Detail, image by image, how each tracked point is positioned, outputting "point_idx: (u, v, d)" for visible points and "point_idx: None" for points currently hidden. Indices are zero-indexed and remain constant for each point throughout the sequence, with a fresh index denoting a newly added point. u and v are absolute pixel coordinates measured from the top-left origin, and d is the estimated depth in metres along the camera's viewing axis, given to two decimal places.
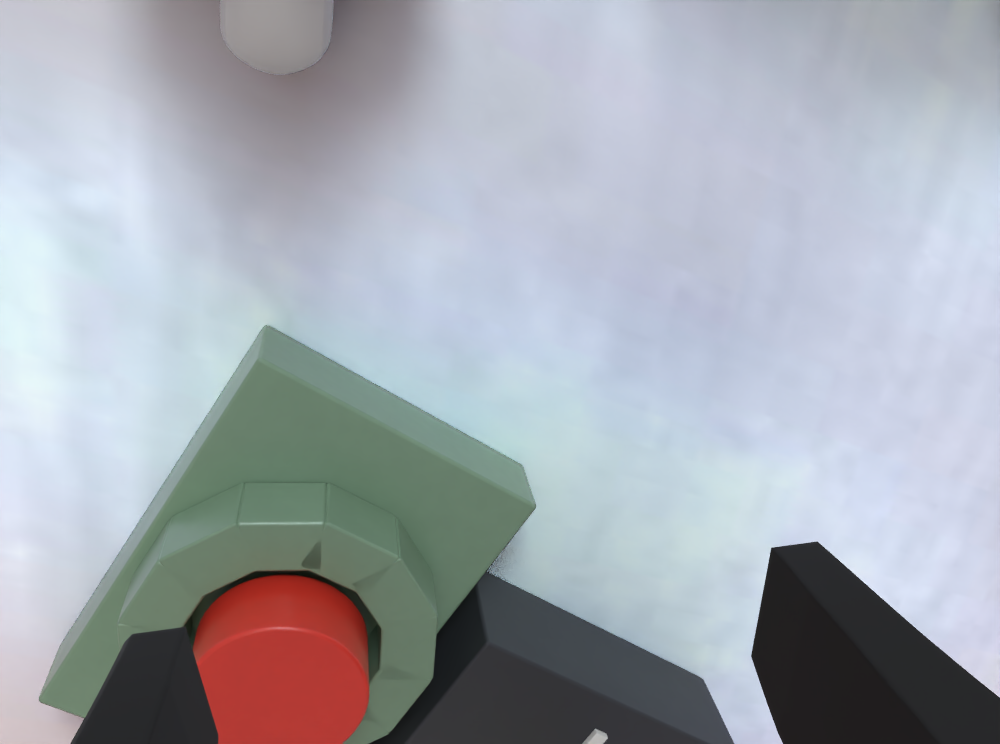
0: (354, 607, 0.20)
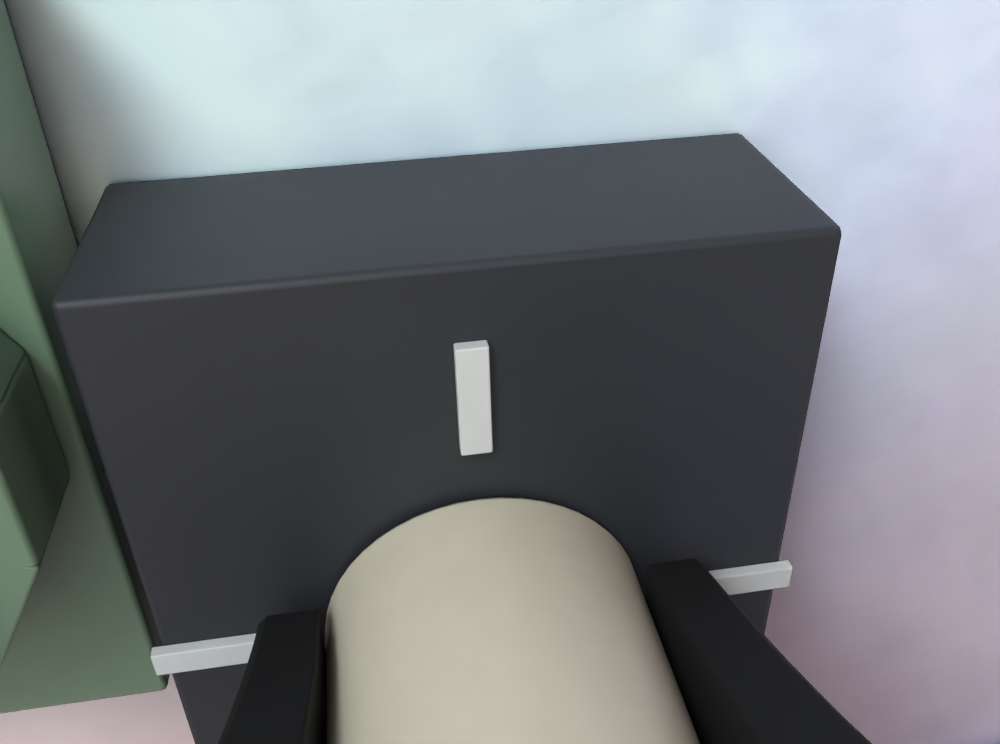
0: None
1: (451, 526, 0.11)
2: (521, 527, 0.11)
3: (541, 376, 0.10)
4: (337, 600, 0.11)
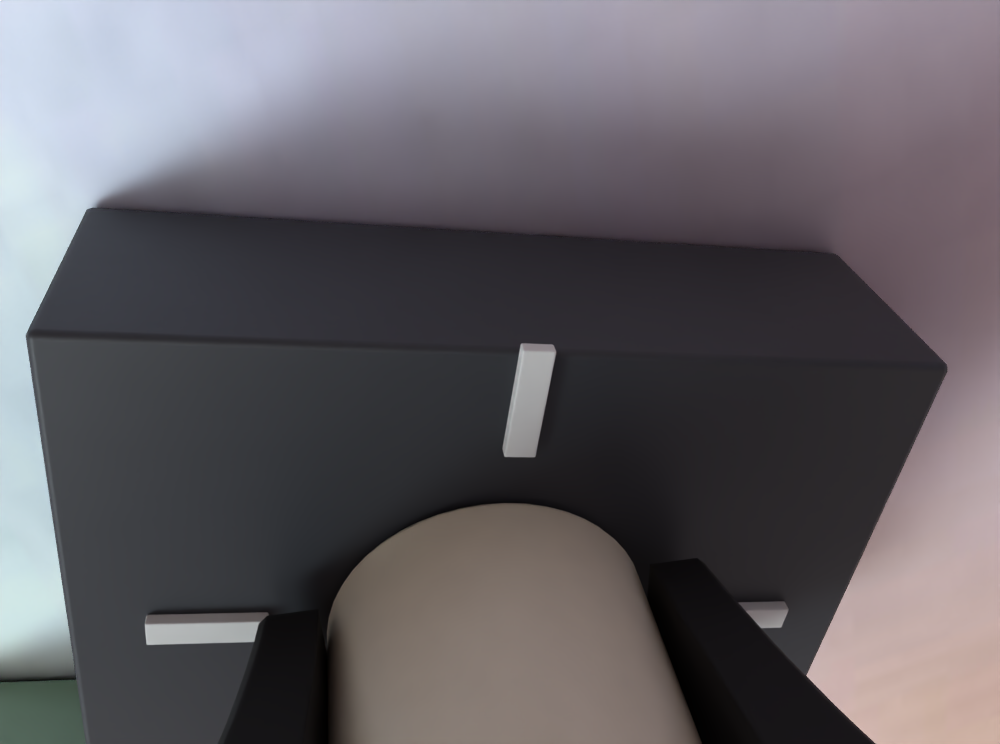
0: None
1: (455, 532, 0.11)
2: (525, 534, 0.11)
3: (193, 577, 0.11)
4: (339, 606, 0.11)
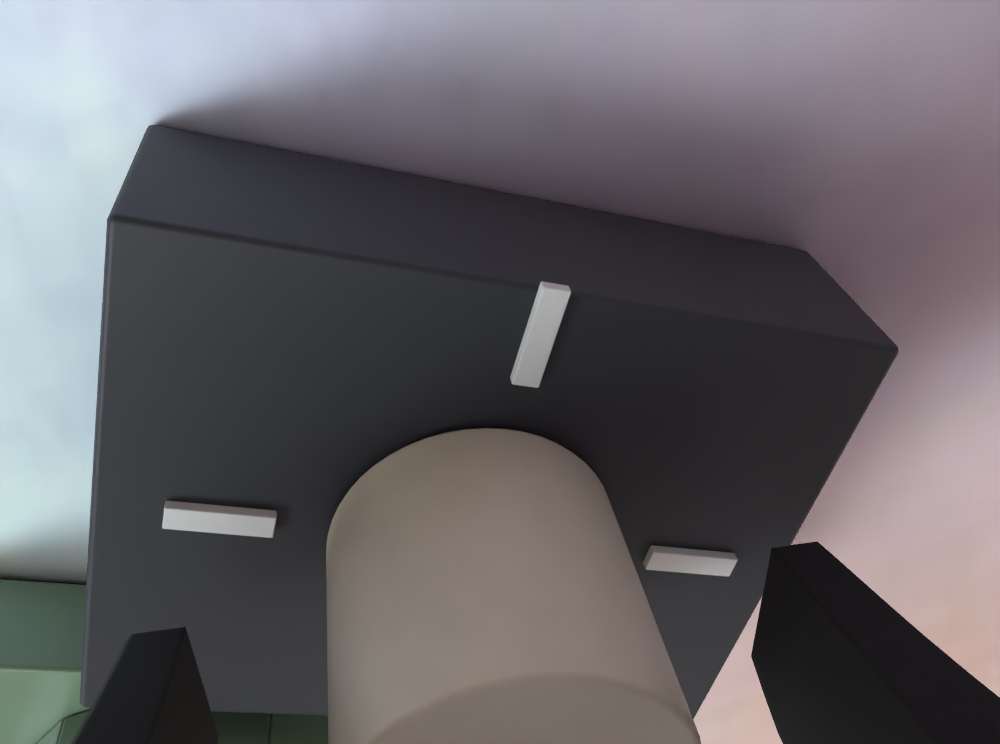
0: None
1: (459, 447, 0.12)
2: (522, 454, 0.12)
3: (215, 469, 0.12)
4: (345, 508, 0.12)
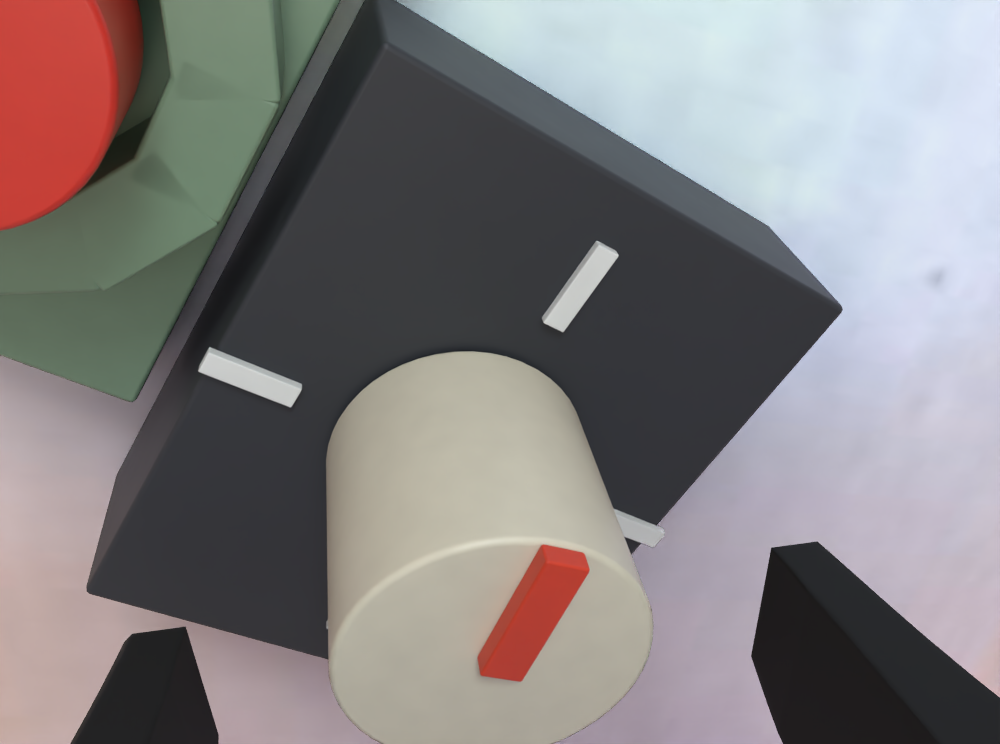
0: None
1: None
2: None
3: (625, 298, 0.14)
4: (561, 394, 0.14)
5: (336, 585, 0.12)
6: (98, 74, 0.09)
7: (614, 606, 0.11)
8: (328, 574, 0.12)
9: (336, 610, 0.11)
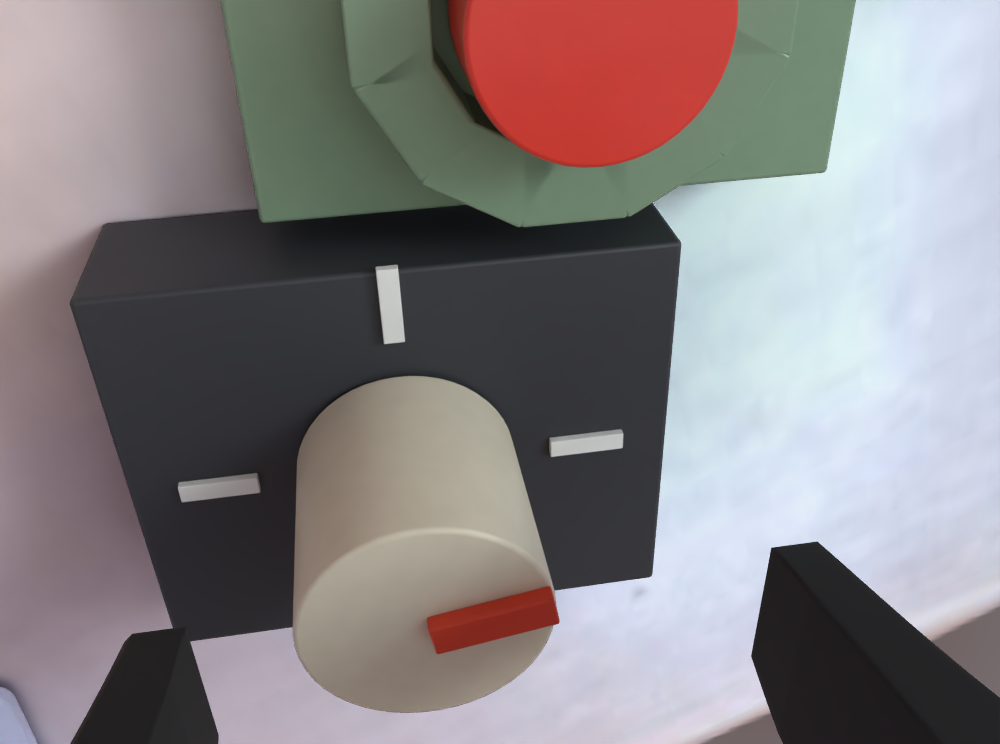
0: None
1: None
2: None
3: (591, 470, 0.19)
4: None
5: (393, 498, 0.14)
6: (650, 141, 0.13)
7: (518, 652, 0.15)
8: (365, 481, 0.14)
9: (393, 516, 0.14)
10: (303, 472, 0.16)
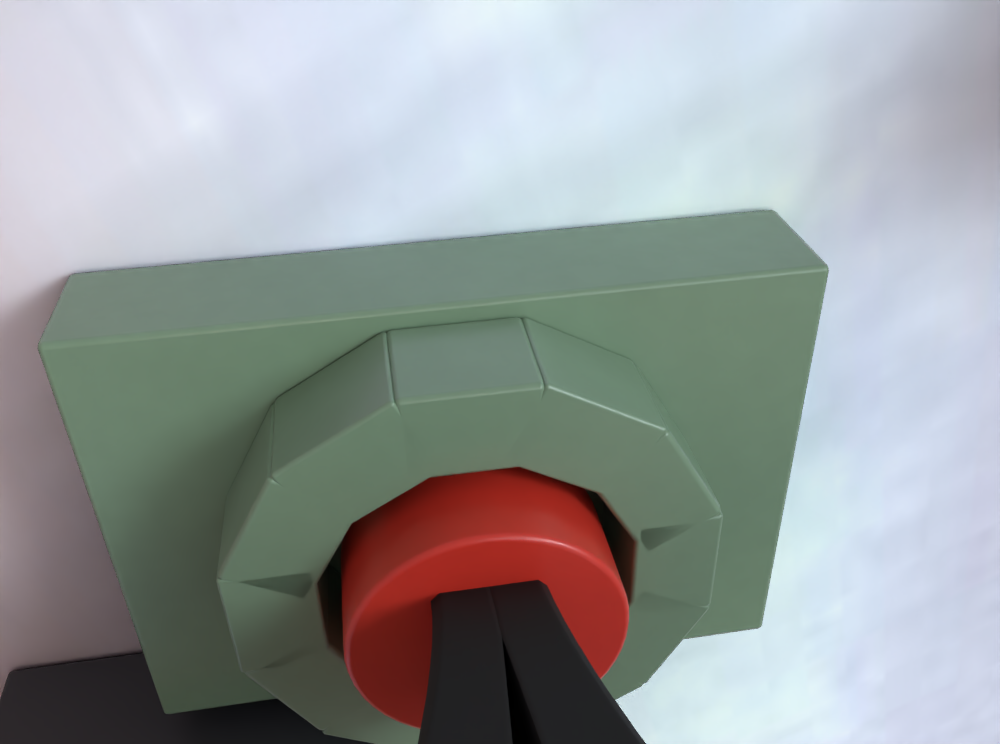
0: None
1: None
2: None
3: None
4: None
5: None
6: None
7: None
8: None
9: None
10: None
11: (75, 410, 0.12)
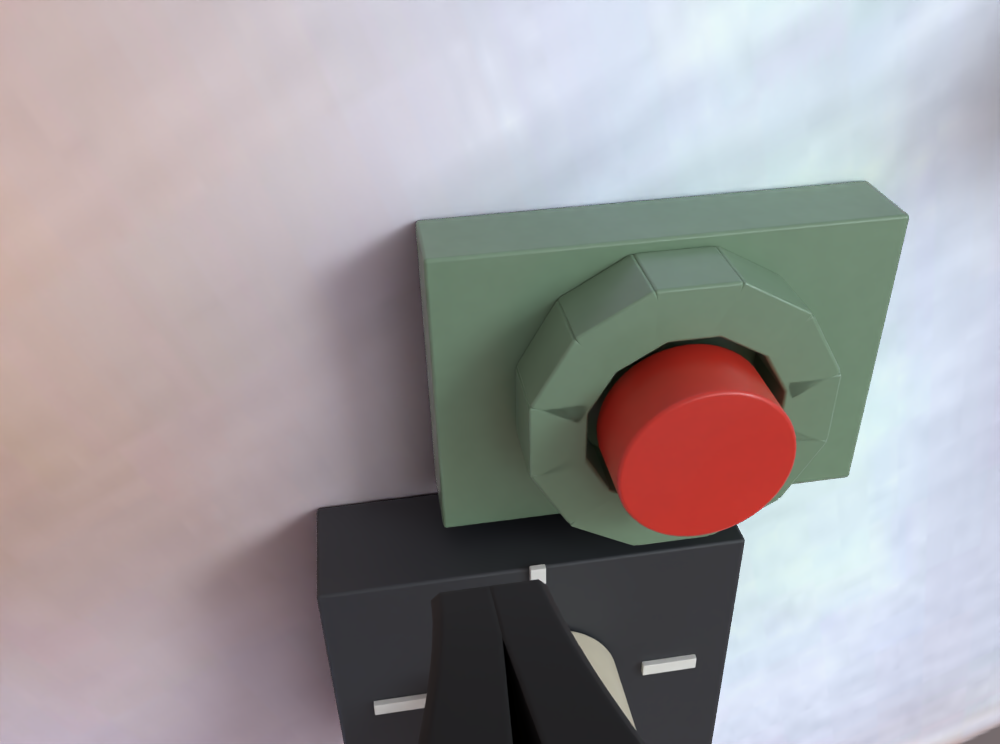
0: None
1: None
2: None
3: (671, 680, 0.25)
4: None
5: None
6: (734, 520, 0.19)
7: None
8: None
9: None
10: None
11: (437, 303, 0.19)
